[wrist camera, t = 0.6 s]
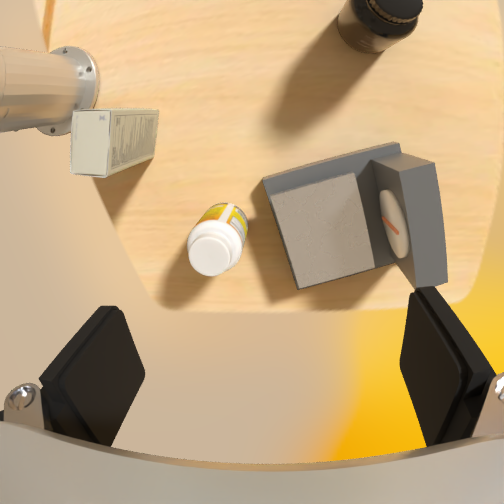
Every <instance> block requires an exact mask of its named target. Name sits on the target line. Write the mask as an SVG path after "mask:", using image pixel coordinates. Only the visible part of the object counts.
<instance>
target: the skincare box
mask: <svg viewBox="0 0 504 504" xmlns="http://www.w3.org/2000/svg"><path fill="white" fill-rule="evenodd" d="M158 116H159V110H158V109H144V108H102V109H82V110H74V111H73V117H72V127H71V146H70V148H71V149H70V173H71V174H76V175H84V176H92V177H101V178H107V177H109V176H111V175H113V174H115V173H118V172H120V171H122V170H125V169H127V168H130V167H132V166H135V165H137V164H140V163H142V162H145V161H147V160H150V159H152V158H154V153H155V144H156V135H157V126H158Z"/></svg>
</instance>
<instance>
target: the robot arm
mask: <svg viewBox="0 0 504 504" xmlns="http://www.w3.org/2000/svg"><path fill="white" fill-rule="evenodd" d="M98 91H99V72H98V68H97V65H96V63H95V60H94V59H93V57H92V56H91V55H90V54H89V53H88V52H87V51H85V50H84V49H81V48H79V47H74V46H64V47H61V48H58V49H56V50H54V51H52V52H50V53H45V52H38V51H32V50H25V49H18V48H10V47H1V46H0V133H1V132H7V131H18V130H20V129H27V128H34V127H36V128H37V129H38V130H39V131H40V132H42V133H44V134H46V135H49V136H60V135H65V134H68V133H71V127H72V117H73V111H74V110H82V109H93V107H94V105H95V102H96V99H97V95H98ZM400 370H401V372H402V375H403V378H404V381H405V383H406V386H407V389H408V392H409V395H410V397H411V400H412V403H413V406H414V409H415V412H416V415H417V418H418V421H419V424H420V427H421V430H422V433H423V436H424V440H425V443H426V446H427V447H425V448H420V449H415V450H410V451H404V452H399V453H393V454H387V455H380V456H374V457H367V458H359V459H350V460H341V461H330V462H316V463H297V464H240V463H220V462H207V461H195V460H187V459H178V458H170V457H163V456H156V455H150V454H144V453H138V452H133V451H127V450H122V449H117V448H113V447H111V445H112V443H113V441H114V439H115V437H116V435H117V433H118V431H119V429H120V427H121V425H122V423H123V421H124V418H125V416H126V414H127V412H128V410H129V408H130V406H131V404H132V402H133V400H134V398H135V396H136V394H137V392H138V390H139V388H140V386H141V384H142V382H143V380H144V378H145V370H144V367H143V364H142V362H141V359H140V357H139V354H138V352H137V349H136V347H135V344H134V341H133V339H132V336H131V333H130V330H129V328H128V325H127V322H126V319H125V316H124V313H123V312H122V311H121V310H119V308H118V307H117V306H100V307H99V308H98V309H97V310H96V311H95V313H94V314H93V315H92V316H91V317H90V318H89V319H88V320H87V321H86V323H85V324H84V325H83V326H82V327H81V328H80V330H79V331H78V332H77V333H76V334H75V335H74V336H73V338H72V339H71V340H70V341H69V342H68V343H67V345H66V346H65V347H64V348H63V349H62V350H61V352H60V353H59V354H58V355H57V356H56V358H55V359H54V360H53V361H52V363H51V364H50V365H49V366H48V368H47V369H46V370H45V371H44V372H43V374H42V375H41V376H40V377H39V380H40V382H41V383H42V385H43V387H42V389H41V390H40V388H39V387H38V386H37V385H35V384H33V383H26V384H22V385H19V386H17V387H15V388H14V389H13V390H11V392H10V393H9V394H8V395H7V397H6V399H5V403H4V410H3V411H0V504H504V372H503V373H501V374H498V375H496V373H495V372H494V370H493V369H492V367H491V365H490V364H489V362H488V361H487V359H486V358H485V356H484V354H483V353H482V351H481V350H480V348H479V347H478V346H477V344H476V343H475V341H474V340H473V338H472V337H471V335H470V334H469V332H468V331H467V330H466V328H465V327H464V325H463V324H462V323H461V322H460V320H459V319H458V317H457V316H456V314H455V313H454V312H453V310H452V309H451V308H450V306H449V305H448V304H447V302H446V301H445V300H444V298H443V297H442V296H441V294H440V293H439V292H438V291H437V289H436V288H435V287H434V286H426V287H418V288H416V289H415V292H414V293H411V294H410V296H409V304H408V311H407V319H406V325H405V332H404V339H403V344H402V350H401V356H400Z"/></svg>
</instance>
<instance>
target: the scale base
mask: <svg viewBox="0 0 504 504" xmlns="http://www.w3.org/2000/svg"><path fill="white" fill-rule="evenodd" d="M349 172H354V174H355V178H356V182H357V186H358V190H359V194H360V198H361V202H362V207H363V211H364V215H365V220H366V225H367V229H368V234H369V239H370V244H371V249H372V254H373V260H374V265H375V268H378V267H382V266H385V265H389V264H392V263H396V264H397V265H398V267H399V268H400V270H401V271H402V272H403V274H404V275H405V276H406V278H407V279H408V281H409V282H410V284H411V285H412V286H413V288H414V289H416V288H418V287H426V286H434V287H435V286H438V285H441V284H444V283H447V282H448V274H447V256H446V243H445V232H444V223H443V214H442V206H441V199H440V192H439V186H438V180H437V174H436V168H435V163H434V162H431V161H428V160H425V159H421V158H418V157H415V156H412V155H408V154H405V153H401V149H400V144H399V143H397V142H391V143H386V144H382V145H378V146H374V147H370V148H366V149H362V150H358V151H354V152H350V153H347V154H343V155H339V156H335V157H332V158H328V159H324V160H321V161H317V162H314V163H310V164H307V165H303V166H300V167H296V168H293V169H289V170H286V171H283V172H279V173H276V174H273V175H269V176H266V177H263V179H262V181H263V184H264V187H265V190H266V193H267V196H268V199H269V202H270V205H271V208H272V211H273V214H274V217H275V221H276V224H277V227H278V230H279V233H280V236H281V239H282V242H283V245H284V248H285V252H286V255H287V258H288V261H289V264H290V267H291V271H292V274H293V277H294V280H295V283H296V287H297V290H299V289H303V288H307V287H311V286H314V285H318V284H322V283H326V282H329V281H333V280H336V279H340V278H344V277H347V276H351V275H354V274H358V273H361V272H365V271H368V270H372V269H375V268H371V269H368V270H365V271H361V272H358V273H354V274H351V275H347V276H343V277H340V278H336V279H333V280H329V281H325V282H322V283H318V284H314V285H311V286H307V287H303V288H299V286H298V283H297V279H296V276H295V273H294V270H293V267H292V263H291V260H290V257H289V254H288V251H287V247H286V244H285V241H284V238H283V235H282V232H281V229H280V225H279V222H278V219H277V216H276V213H275V210H274V207H273V204H272V201H271V198H270V195H271V194H275V193H278V192H281V191H285V190H288V189H292V188H295V187H298V186H302V185H305V184H309V183H312V182H316V181H319V180H323V179H327V178H330V177H334V176H337V175H341V174H345V173H349Z"/></svg>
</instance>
